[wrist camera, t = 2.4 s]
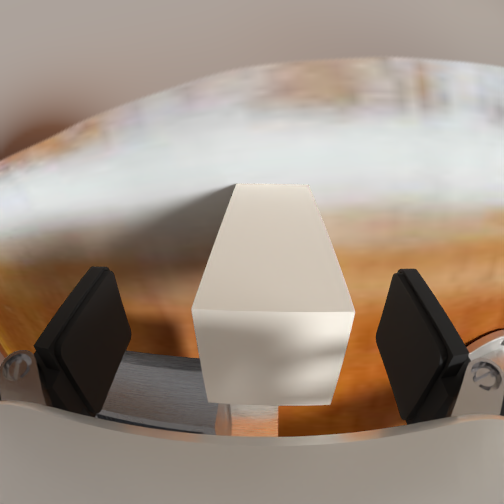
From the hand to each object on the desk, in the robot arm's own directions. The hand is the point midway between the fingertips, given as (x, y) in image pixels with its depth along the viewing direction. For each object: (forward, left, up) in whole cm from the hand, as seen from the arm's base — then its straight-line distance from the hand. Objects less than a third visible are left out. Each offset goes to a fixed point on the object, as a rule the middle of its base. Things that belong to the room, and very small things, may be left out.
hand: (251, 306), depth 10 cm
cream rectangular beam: (0, -1, -9) cm, 9 cm away
